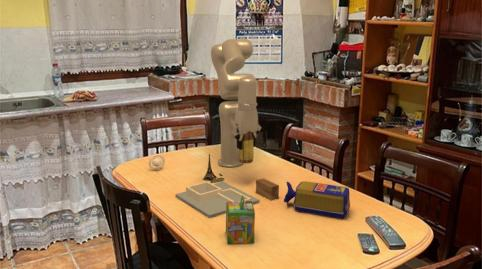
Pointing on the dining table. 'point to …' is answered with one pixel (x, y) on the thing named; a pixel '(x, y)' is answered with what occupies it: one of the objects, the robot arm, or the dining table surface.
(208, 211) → the jig board
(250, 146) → the sauce bottle
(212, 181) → the eiffel tower figurine
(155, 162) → the ring around a ball
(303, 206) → the bread
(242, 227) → the chalk box
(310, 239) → the dining table surface
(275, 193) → the brown wooden block
